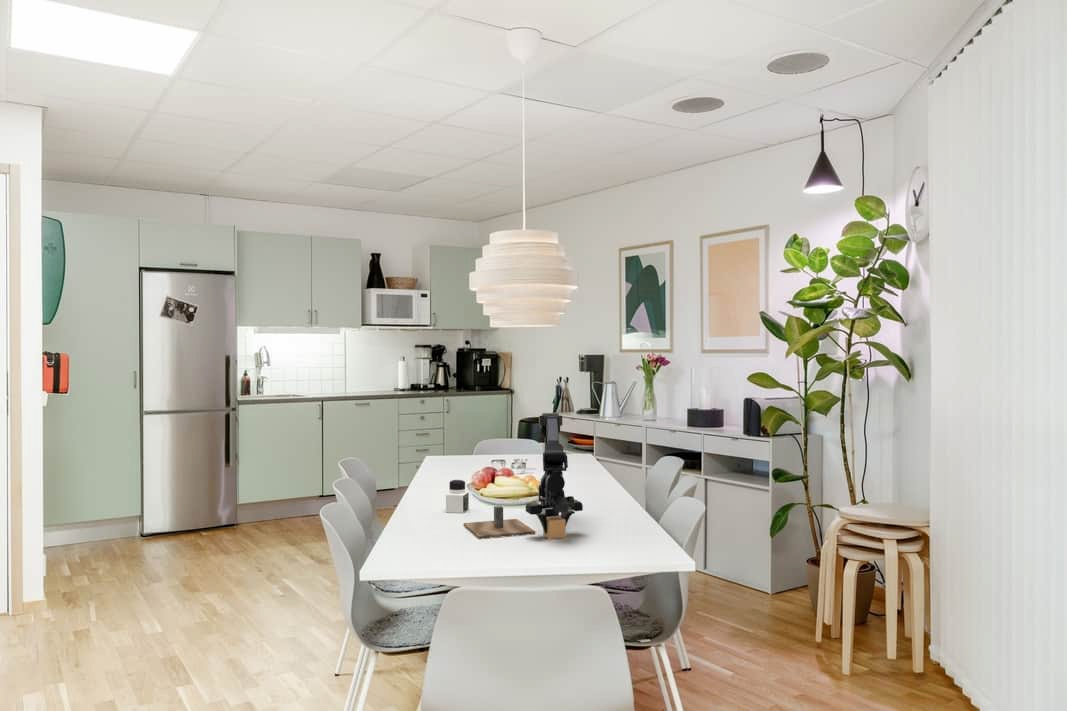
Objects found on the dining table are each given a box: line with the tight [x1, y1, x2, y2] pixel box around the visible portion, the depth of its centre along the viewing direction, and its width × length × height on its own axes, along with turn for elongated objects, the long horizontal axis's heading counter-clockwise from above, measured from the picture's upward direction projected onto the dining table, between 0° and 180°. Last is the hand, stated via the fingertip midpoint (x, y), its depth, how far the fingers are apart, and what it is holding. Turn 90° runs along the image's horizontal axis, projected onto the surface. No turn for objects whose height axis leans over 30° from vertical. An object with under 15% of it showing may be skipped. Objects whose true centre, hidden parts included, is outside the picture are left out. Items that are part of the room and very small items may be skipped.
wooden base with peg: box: [463, 505, 536, 540], centre depth 270 cm, size 20×20×8 cm
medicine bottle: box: [445, 479, 470, 514], centre depth 301 cm, size 7×7×12 cm
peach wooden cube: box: [542, 515, 567, 540], centre depth 261 cm, size 6×6×6 cm
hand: (554, 532), depth 261 cm, fingers closed on peach wooden cube, 6 cm apart
